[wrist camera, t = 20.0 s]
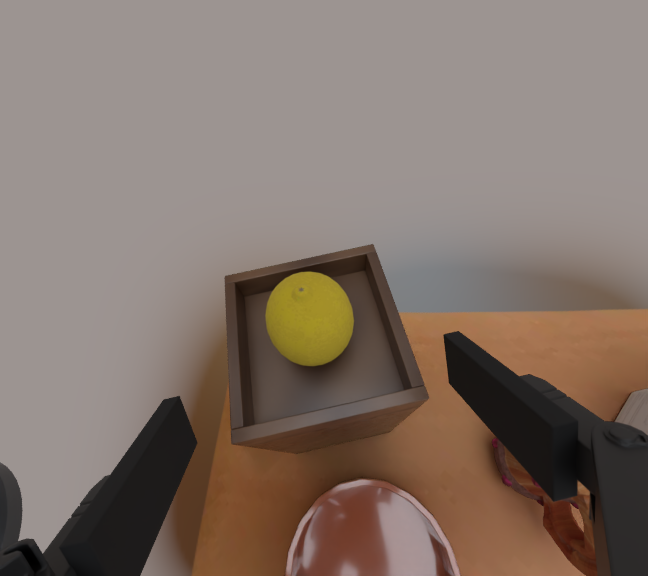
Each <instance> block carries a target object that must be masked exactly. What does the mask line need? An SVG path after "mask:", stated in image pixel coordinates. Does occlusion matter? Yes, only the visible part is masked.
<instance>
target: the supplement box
mask: <svg viewBox="0 0 648 576" xmlns="http://www.w3.org/2000/svg"><path fill="white" fill-rule="evenodd" d="M615 422H619V423H623V424H626V425H630V426H632V427H635V428H637V429H639V430H641V431H643V432H644V433H645V434H647V435H648V389H643V390H639V391H635V392H632V393H631V394H630V396H629V398H628V399H627V401H626V403H625V405H624V406H623V408H622V410H621V411H620V413H619V415H618V417H617V418H616V420H615Z"/></svg>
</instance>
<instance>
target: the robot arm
mask: <svg viewBox="0 0 648 576" xmlns="http://www.w3.org/2000/svg"><path fill="white" fill-rule="evenodd" d="M444 343H445V352H446V361H447V369H448V378H449V384H450V385H451V386H452V387H453V388H454V389H455V390H456V391H457V393H458V394H459V395H460V396H461V397H462V398H463V399H464V401H465V402H466V403H467V404H468V405H469V406H470V407H471V409H472V410H473V411H474V412H475V413H476V414H477V415H478V416H479V418H480V419H481V420H482V421H483V422H484V423H485V424H486V426H487V427H488V428H489V429H490V430H491V431H492V432H493V434H494V435H495V436H496V437H497V438H498V439H499V440H500V442H501V443H502V444H503V445H504V446H505V447H506V448H507V449H508V451H509V452H510V453H511V454H512V455H513V456H514V457H515V459H516V460H517V461H518V462H519V463H520V464H521V465H522V467H523V468H524V469H525V470H526V471H527V472H528V473H529V474H530V476H531V477H532V478H533V479H534V480H535V481H536V482H537V484H538V485H539V486H540V487H541V488H542V489H543V490H544V492H545V493H546V494H547V495H548V496H549V497H550V498H551V500H552V501H553V502H555V501H559V500H563V499H567V498H571V497H575V496H577V492H578V481H579V482H580V483H581V484H582V485H583V486H584V487H586V488H587V489H588V490H589V491H590V502H589V519H590V520H592V528H593V537H594V546H595V556H596V565H597V574H598V576H648V435H647V434H645V433H644V432H643V431H641V430H639V429H637V428H635V427H632V426H630V425H626V424H623V423H619V422H610V421H604V420H602V419H601V418H599V417H598V416H596V415H595V414H593V413H592V412H590V411H589V410H588V409H586V408H585V407H583V406H582V405H580V404H579V403H577V402H576V401H574V400H573V399H571V398H570V397H567V396H566V394H564V393H563V392H561V391H560V390H557V389H556V388H555V387H554V386H552V385H551V384H550V383H548V382H547V381H545V380H543V379H541V378H538V377H535V376H533V375H530V374H528V375H523V376H518V375H517V374H515V373H514V372H513V371H511V370H510V369H509V368H507V367H506V366H504V365H503V364H502V363H500V362H499V361H498V360H496V359H495V358H494V357H492V356H491V355H490V354H488V353H487V352H486V351H484V350H483V349H482V348H480V347H479V346H478V345H476V344H475V343H474V342H472V341H471V340H470V339H468V338H467V337H466V336H464V335H463V334H462V333H460V332H459V331H457V332H452V333H448V334H444ZM196 445H197V440H196V438H195V435H194V433H193V430H192V427H191V425H190V422H189V420H188V417H187V414H186V412H185V409H184V406H183V404H182V401H181V399H180V396H177V397H173V398H169V399H164V400H163V401H162V403H161V404H160V406H159V407H158V408H157V410H156V411H155V413H154V414H153V415H152V417H151V418H150V420H149V421H148V422H147V424H146V426H145V427H144V428H143V430H142V431H141V432H140V434H139V435H138V437H137V438H136V440H135V441H134V442H133V444H132V445H131V447H130V448H129V449H128V451H127V452H126V453H125V455H124V456H123V458H122V459H121V461H120V462H119V463H118V465H117V466H116V468H115V469H114V470H113V472H112V473H111V475H108V476H105V477H104V478H103V479H102V480H100V481H99V482H98V483H97V484H96V485H95V486H94V487H93V488H92V489H91V490H90V491H89V492H88V494H87V495H86V497H85V498H84V499H83V501H82V502H81V503H80V506H78V508H77V509H76V510H75V511H74V513H73V514H72V517H71V518H69V519H68V521H67V522H66V524H65V525H64V526H63V528H62V529H61V530H60V532H59V533H58V534H57V536H56V537H55V538H54V540H53V541H52V542H51V544H50V545H49V546H48V548H47V549H46V550H45V552H44V553H43V554H42V552H41V551H40V549H39V547H38V546H37V544H36V542H35V541H34V539H24V540H21V541H18V542H16V543H14V544H12V545H10V546H8V547H6V548H5V549H3V550H2V551H0V576H140V575H141V572H142V570H143V568H144V565H145V563H146V561H147V558H148V556H149V554H150V552H151V549H152V547H153V544H154V542H155V540H156V537H157V535H158V533H159V531H160V528H161V526H162V524H163V521H164V519H165V517H166V514H167V512H168V510H169V507H170V505H171V503H172V501H173V498H174V496H175V494H176V491H177V489H178V487H179V484H180V482H181V480H182V477H183V475H184V473H185V470H186V468H187V466H188V464H189V461H190V459H191V457H192V454H193V452H194V449H195V447H196Z"/></svg>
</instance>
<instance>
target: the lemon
mask: <svg viewBox="0 0 648 576" xmlns="http://www.w3.org/2000/svg"><path fill="white" fill-rule="evenodd" d="M265 316H266V326H267V331H268V334H269V336H270V339H271V341H272V343H273V345H274V346H275V347H276V348H277V350H278V351H279V352H280V353H281V354H282V355H283V356H284V357H286V358H287V359H288V360H290V361H292V362H294V363H297V364H300V365H303V366H318V365H323V364H326V363H328V362H330V361H332V360H334V359H335V358H336V357H337V356H339V355H340V354H341V353H342V352H343V350H344V349H345V348H346V347H347V345H348V343H349V341H350V338H351V336H352V333H353V325H354V317H353V310H352V306H351V304H350V301H349V299H348V297H347V295H346V293H345V292H344V290H343V289H342V288H341V287H340V285H339V284H338V283H337V282H335V281H334V280H332V279H331V278H330V277H328V276H326V275H323V274H321V273H316V272H300V273H296V274H293V275H291V276H289V277H287V278H285V279H284V280H283V281H281V282H280V283H279V284H278V285H277V286H276V287H275V289H274V290H273V291H272V293H271V295H270V297H269V300H268V302H267V308H266V315H265Z"/></svg>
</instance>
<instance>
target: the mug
mask: <svg viewBox="0 0 648 576" xmlns="http://www.w3.org/2000/svg"><path fill="white" fill-rule="evenodd" d="M492 445H493V447H494V455H495V460H496V464H497V466H498V469H499V471H500V473H501V475H502V482H503V483H504V484H505V485H507V486H511V487H512V488H513V489H514V490H515V491H517V492H519V493H520V494H522V495H524V496H526V497H528V498H531V499H534V500H537V502H538V503H539V504H541V505H543V506H544V516H543V526H544V527H545V529H546V530H547V531H548V533H549V534H550V535H551V537H552V538H553V540H554V541H555V543H556V544H557V545H558V547H559V548H560V549H561V551H562V552H563V553H564V555H565V556H566V558H567V559H568V560H569V561H570V562H571V563H572V564H573V565H574V566H575V567H576V568H577V569H578V570H579V571H581V572H582V573H583V574H584V575H586V576H598V574H597V565H596V556H595V546H594V537H593V528H592V520H590V519H589V502H590V491H589V490H588V489H587V488H586V487H584V486H583V485H582V484H581V483H580V482H579V481H578V492H577V496H575V497H571V498H567V499H563V500H559V501H555V502H553V501H552V500H551V498H550V497H549V496H548V495H547V494H546V493H545V492H544V490H543V489H542V488H541V487H540V486H539V485H538V484H537V482H536V481H535V480H534V479H533V478H532V477H531V476H530V474H529V473H528V472H527V471H526V470H525V469H524V468H523V467H522V465H521V464H520V463H519V462H518V461H517V460H516V459H515V457H514V456H513V455H512V454H511V453H510V452H509V451H508V449H507V448H506V447H505V446H504V445H503V444H502V443H501V442H500V440H499V439H498V438H494V439H493V441H492ZM570 503H571V504H572V505H573V506H574V507H575V508H577V509H579V511H580V513H581V516H582V518H583V523H584V532H583V531H582V530H581V529H580V527H579V526H578V524H577V522H576V520H575V519H574V517H573V515H572V512H571V506H570Z"/></svg>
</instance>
